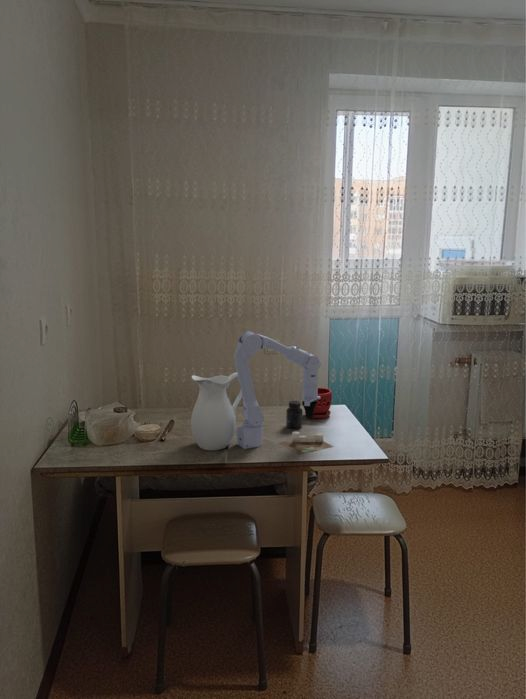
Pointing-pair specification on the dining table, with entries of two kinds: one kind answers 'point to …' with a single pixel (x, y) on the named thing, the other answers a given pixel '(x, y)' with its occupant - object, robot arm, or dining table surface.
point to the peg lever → (307, 438)
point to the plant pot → (323, 403)
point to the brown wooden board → (305, 446)
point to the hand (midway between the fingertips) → (309, 419)
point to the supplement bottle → (294, 415)
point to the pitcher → (214, 412)
